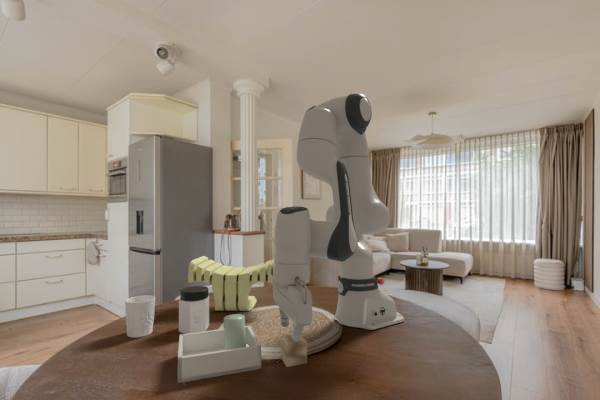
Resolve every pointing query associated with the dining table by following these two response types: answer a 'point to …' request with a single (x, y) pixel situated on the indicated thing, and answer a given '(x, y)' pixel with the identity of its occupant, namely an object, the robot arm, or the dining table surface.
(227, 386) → the dining table surface
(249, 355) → the tote
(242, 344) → the sage cylinder
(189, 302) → the jar
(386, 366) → the dining table surface
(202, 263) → the slatted curved stool
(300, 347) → the beech cube
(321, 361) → the dining table surface
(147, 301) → the white cup
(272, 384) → the dining table surface
